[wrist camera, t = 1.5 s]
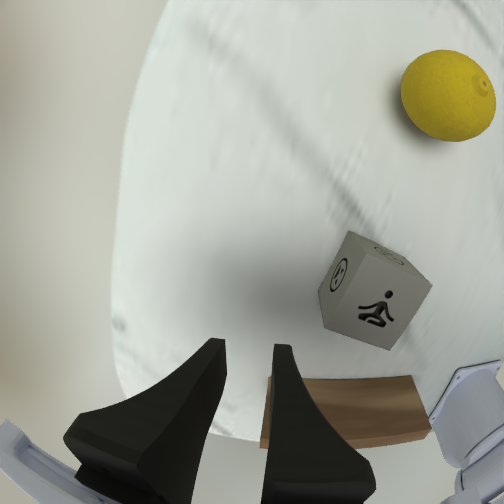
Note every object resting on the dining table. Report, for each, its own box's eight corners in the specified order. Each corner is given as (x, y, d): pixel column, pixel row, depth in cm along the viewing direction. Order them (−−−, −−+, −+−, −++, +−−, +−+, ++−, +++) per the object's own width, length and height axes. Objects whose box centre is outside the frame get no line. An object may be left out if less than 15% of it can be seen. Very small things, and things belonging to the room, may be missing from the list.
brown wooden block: (405, 386, 22) (424, 438, 15) (268, 388, 24) (259, 448, 17) (410, 375, 21) (431, 428, 15) (268, 376, 23) (260, 438, 17)
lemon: (458, 133, 14) (529, 131, 7) (403, 152, 16) (468, 151, 8) (430, 65, 13) (489, 32, 6) (371, 78, 14) (418, 34, 7)
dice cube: (317, 290, 20) (324, 327, 15) (348, 229, 18) (366, 252, 14) (372, 312, 20) (389, 350, 15) (404, 257, 18) (432, 285, 14)
